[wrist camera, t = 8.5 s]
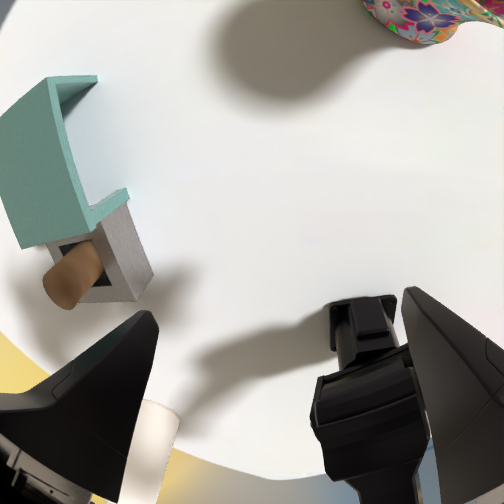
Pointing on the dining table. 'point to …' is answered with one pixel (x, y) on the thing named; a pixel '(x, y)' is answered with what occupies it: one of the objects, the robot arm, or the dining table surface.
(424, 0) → the mug
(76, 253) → the peg
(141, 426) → the alcohol
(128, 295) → the station
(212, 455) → the dining table surface
